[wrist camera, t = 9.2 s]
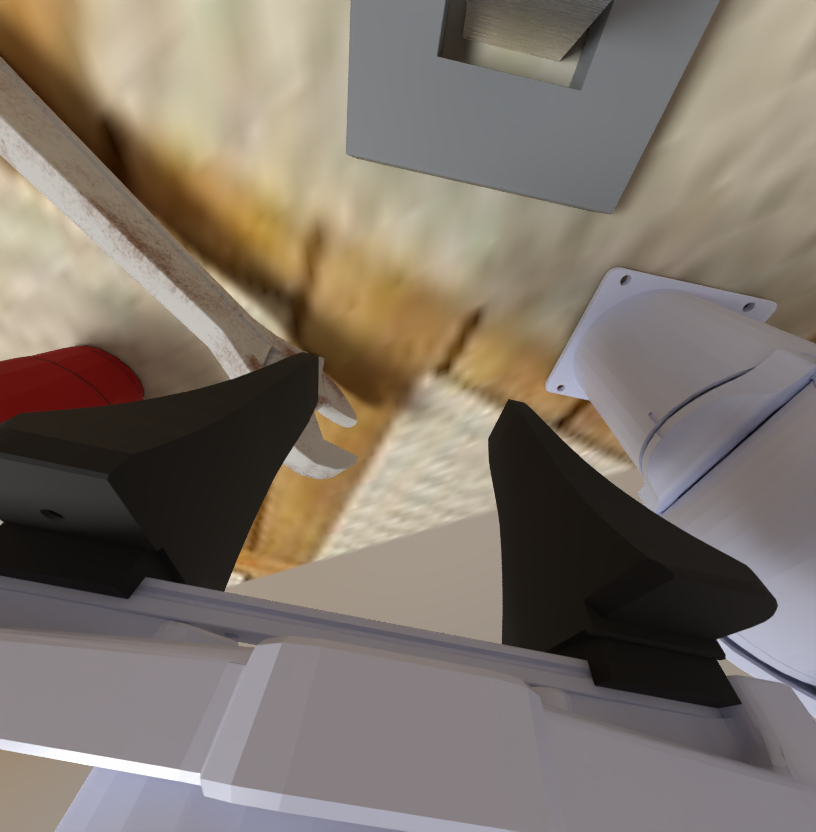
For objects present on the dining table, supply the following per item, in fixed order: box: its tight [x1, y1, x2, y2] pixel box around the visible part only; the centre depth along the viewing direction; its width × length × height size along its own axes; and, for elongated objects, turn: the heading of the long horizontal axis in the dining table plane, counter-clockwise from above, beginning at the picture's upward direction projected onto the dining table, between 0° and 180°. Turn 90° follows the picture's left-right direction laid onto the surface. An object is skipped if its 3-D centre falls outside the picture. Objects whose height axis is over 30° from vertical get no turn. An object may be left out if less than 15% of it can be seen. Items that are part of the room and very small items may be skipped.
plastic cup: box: [0, 345, 144, 525], centre depth 19 cm, size 11×11×12 cm
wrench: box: [0, 57, 357, 479], centre depth 15 cm, size 8×2×30 cm
